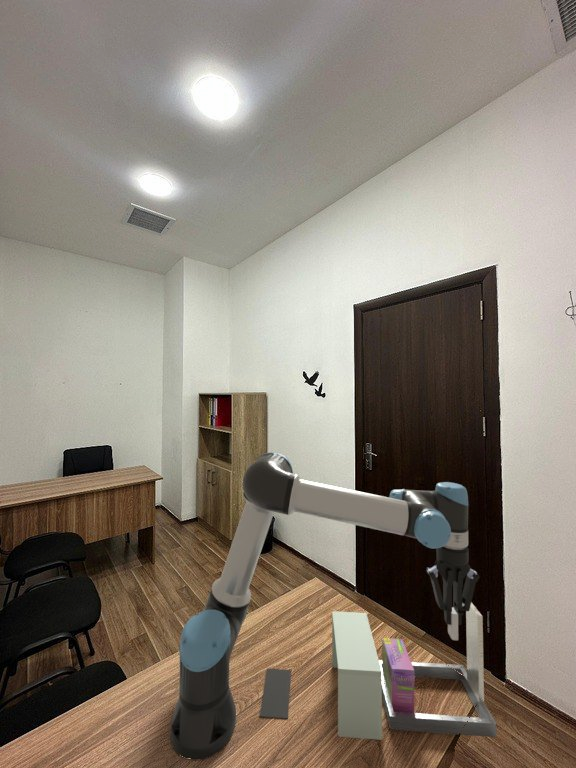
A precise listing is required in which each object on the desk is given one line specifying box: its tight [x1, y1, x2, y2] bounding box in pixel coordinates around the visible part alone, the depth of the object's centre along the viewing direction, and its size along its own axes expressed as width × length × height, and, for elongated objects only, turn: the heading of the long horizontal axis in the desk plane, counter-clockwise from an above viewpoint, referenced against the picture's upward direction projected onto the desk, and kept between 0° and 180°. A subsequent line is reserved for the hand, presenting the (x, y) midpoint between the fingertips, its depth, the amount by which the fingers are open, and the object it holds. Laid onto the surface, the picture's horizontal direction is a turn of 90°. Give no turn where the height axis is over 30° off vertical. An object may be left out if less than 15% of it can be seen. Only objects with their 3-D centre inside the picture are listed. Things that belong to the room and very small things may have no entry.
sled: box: [379, 601, 498, 738], centre depth 84 cm, size 24×16×24 cm
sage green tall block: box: [331, 610, 383, 741], centre depth 85 cm, size 10×20×15 cm, turn 176°
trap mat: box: [259, 667, 292, 720], centre depth 86 cm, size 7×14×1 cm, turn 176°
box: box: [381, 637, 415, 713], centre depth 84 cm, size 10×6×12 cm, turn 176°
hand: (453, 636), depth 84 cm, fingers closed
